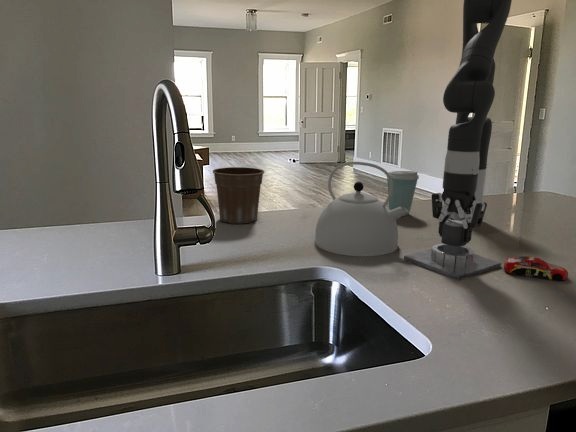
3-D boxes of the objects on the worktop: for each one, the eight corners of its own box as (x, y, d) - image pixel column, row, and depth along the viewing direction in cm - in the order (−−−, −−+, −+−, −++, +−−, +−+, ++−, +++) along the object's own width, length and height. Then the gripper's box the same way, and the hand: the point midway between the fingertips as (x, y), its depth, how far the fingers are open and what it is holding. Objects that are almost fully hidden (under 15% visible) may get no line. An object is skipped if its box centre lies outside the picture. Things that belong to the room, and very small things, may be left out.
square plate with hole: (403, 259, 117) (404, 246, 116) (445, 248, 125) (446, 236, 125) (458, 280, 104) (460, 265, 103) (500, 266, 113) (502, 252, 112)
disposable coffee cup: (378, 213, 162) (381, 170, 159) (393, 208, 170) (396, 167, 167) (406, 219, 156) (410, 174, 152) (420, 213, 164) (424, 170, 160)
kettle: (414, 239, 134) (420, 160, 129) (395, 263, 114) (401, 171, 109) (331, 228, 145) (334, 154, 139) (301, 248, 125) (303, 163, 119)
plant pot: (256, 212, 163) (255, 165, 159) (270, 223, 148) (271, 173, 144) (209, 215, 157) (208, 167, 153) (220, 228, 143) (218, 175, 139)
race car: (565, 276, 108) (568, 259, 107) (569, 284, 103) (572, 267, 102) (503, 267, 113) (505, 251, 112) (503, 274, 108) (505, 258, 107)
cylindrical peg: (436, 241, 114) (438, 221, 113) (451, 238, 117) (453, 218, 116) (455, 247, 110) (458, 227, 108) (470, 243, 113) (473, 223, 111)
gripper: (425, 167, 113) (419, 235, 117) (478, 175, 101) (470, 250, 105) (445, 165, 117) (439, 230, 121) (499, 173, 105) (490, 245, 109)
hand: (454, 239), depth 113 cm, fingers closed on cylindrical peg, 5 cm apart
